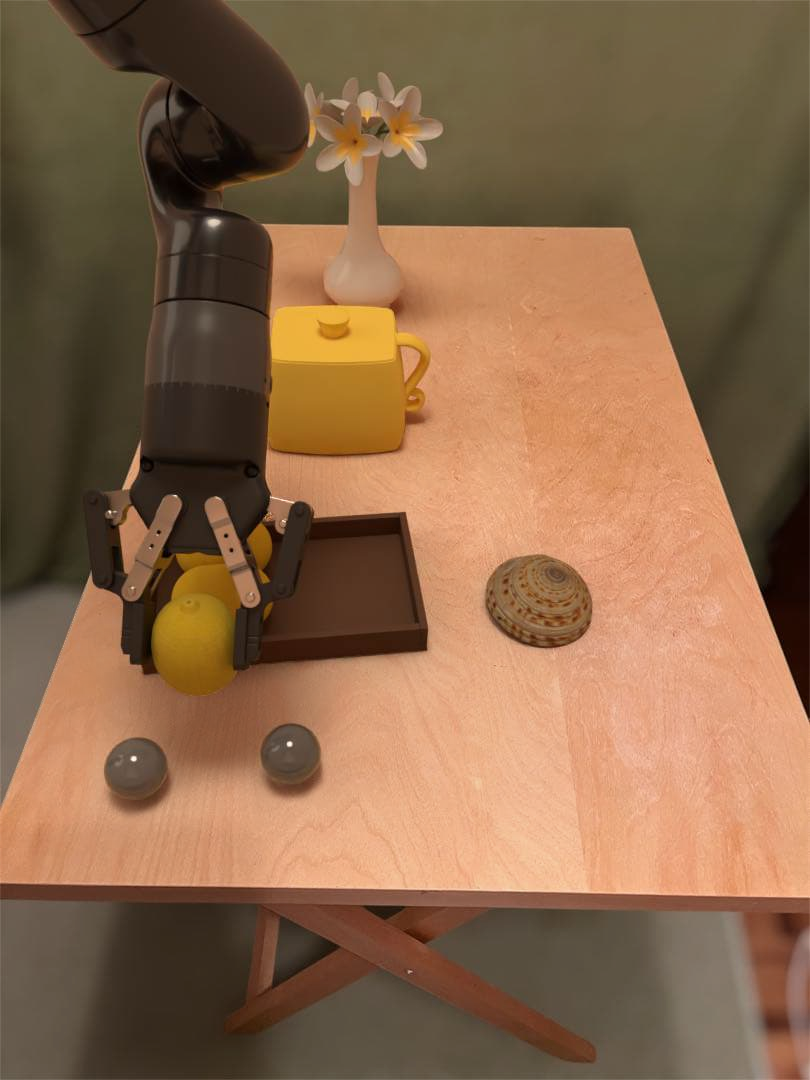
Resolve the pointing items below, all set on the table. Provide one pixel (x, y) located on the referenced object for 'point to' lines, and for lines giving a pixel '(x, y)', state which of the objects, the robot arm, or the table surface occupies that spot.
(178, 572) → the tray
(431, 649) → the table surface
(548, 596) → the seashell
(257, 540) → the yellow banded capsule
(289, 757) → the stone right
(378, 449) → the teapot
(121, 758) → the glossy gray ball
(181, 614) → the lemon
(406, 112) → the flower vase
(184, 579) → the yellow ribbed oblong body
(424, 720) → the table surface
